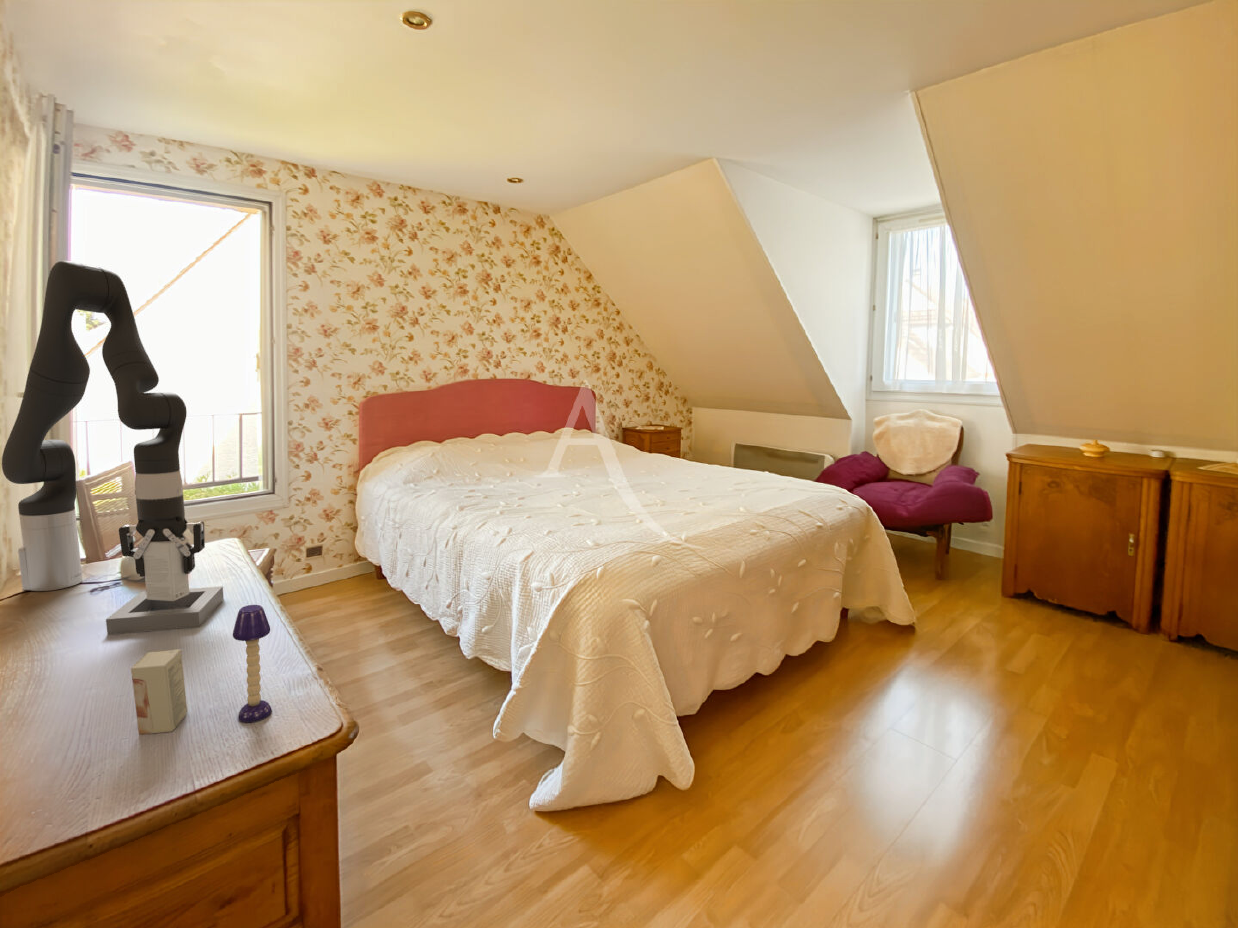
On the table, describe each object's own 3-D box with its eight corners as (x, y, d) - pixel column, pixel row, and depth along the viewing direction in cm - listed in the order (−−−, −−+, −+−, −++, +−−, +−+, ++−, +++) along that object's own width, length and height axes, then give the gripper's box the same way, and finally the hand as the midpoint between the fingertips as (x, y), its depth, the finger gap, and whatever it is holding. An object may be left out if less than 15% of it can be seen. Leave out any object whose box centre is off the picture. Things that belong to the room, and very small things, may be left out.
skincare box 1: (190, 594, 125) (186, 538, 123) (173, 601, 121) (168, 543, 119) (163, 592, 126) (158, 536, 124) (145, 599, 121) (140, 541, 120)
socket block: (107, 634, 114) (105, 619, 114) (142, 605, 129) (141, 591, 128) (199, 626, 119) (198, 612, 119) (223, 599, 133) (222, 586, 133)
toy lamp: (281, 707, 92) (275, 601, 89) (264, 724, 87) (257, 614, 85) (248, 707, 92) (242, 601, 89) (230, 724, 87) (222, 613, 84)
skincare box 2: (154, 715, 89) (148, 650, 87) (188, 712, 90) (183, 648, 88) (135, 736, 84) (128, 667, 82) (171, 732, 85) (165, 664, 83)
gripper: (208, 489, 126) (213, 566, 128) (125, 491, 122) (132, 570, 124) (195, 496, 119) (201, 577, 121) (106, 498, 115) (114, 583, 117)
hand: (166, 574), depth 123 cm, fingers closed on skincare box 1, 7 cm apart
